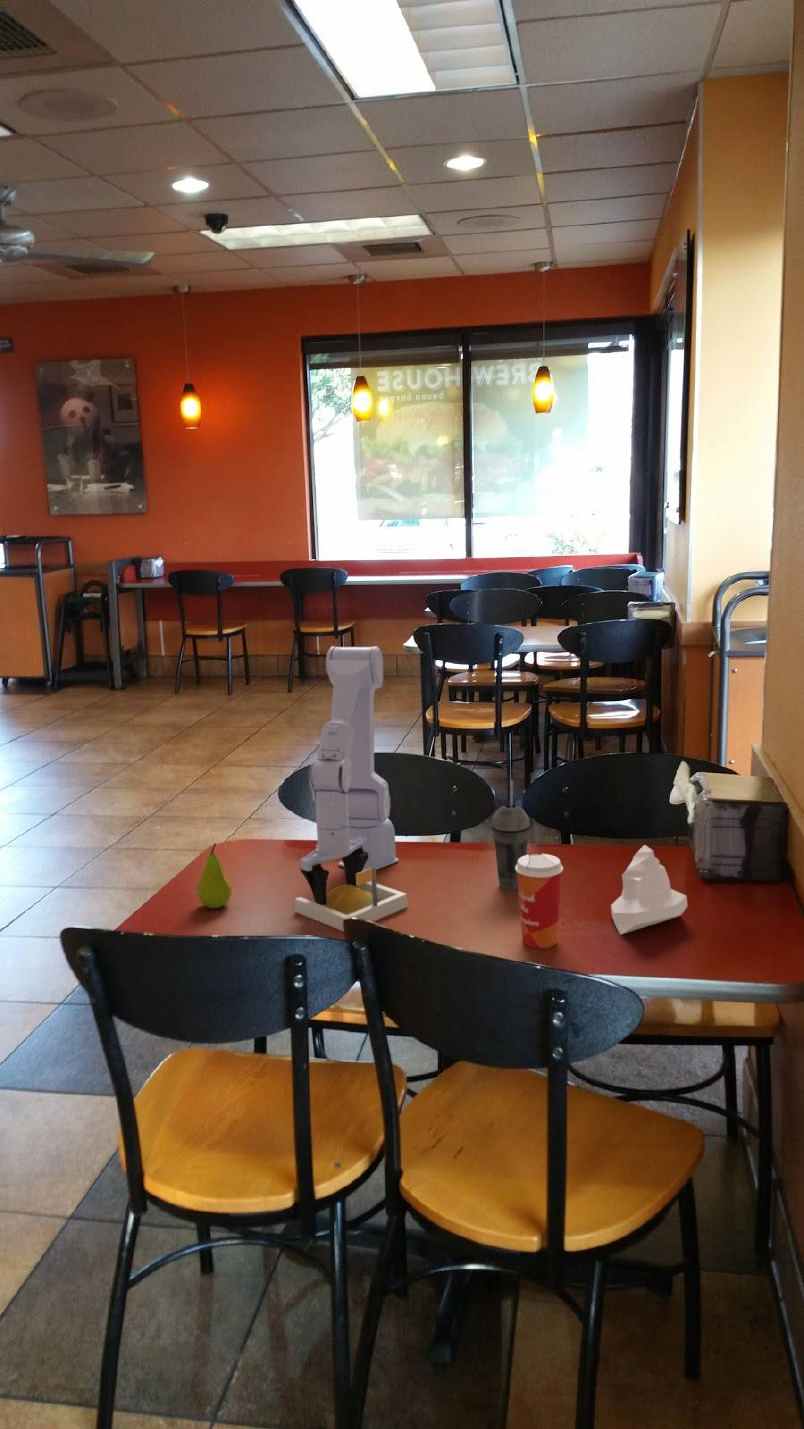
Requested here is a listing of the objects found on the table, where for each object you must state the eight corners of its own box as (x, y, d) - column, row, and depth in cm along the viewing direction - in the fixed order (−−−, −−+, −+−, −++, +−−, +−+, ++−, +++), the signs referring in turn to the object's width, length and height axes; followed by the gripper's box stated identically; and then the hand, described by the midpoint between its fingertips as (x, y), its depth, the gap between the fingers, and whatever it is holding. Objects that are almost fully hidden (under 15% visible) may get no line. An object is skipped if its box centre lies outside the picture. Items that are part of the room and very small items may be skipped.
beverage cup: (487, 890, 196) (484, 786, 192) (498, 876, 203) (496, 775, 199) (525, 894, 194) (523, 789, 189) (535, 880, 200) (534, 778, 196)
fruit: (190, 907, 194) (185, 845, 191) (217, 897, 198) (212, 835, 196) (213, 916, 190) (208, 852, 187) (240, 904, 194) (235, 842, 191)
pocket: (354, 888, 200) (352, 840, 198) (407, 906, 190) (405, 856, 188) (295, 911, 190) (292, 861, 188) (347, 932, 180) (344, 880, 178)
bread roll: (350, 922, 184) (349, 901, 183) (318, 909, 191) (316, 888, 190) (385, 908, 190) (384, 887, 189) (353, 895, 196) (352, 875, 195)
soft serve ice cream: (588, 932, 180) (579, 848, 181) (654, 919, 188) (646, 839, 189) (638, 940, 170) (629, 850, 170) (706, 925, 177) (697, 840, 178)
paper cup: (512, 933, 178) (511, 853, 175) (557, 930, 178) (557, 850, 175) (521, 953, 170) (520, 871, 167) (568, 950, 171) (568, 867, 168)
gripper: (346, 810, 197) (350, 879, 200) (287, 831, 187) (291, 903, 190) (373, 818, 192) (377, 888, 195) (314, 839, 182) (318, 913, 185)
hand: (336, 896), depth 192 cm, fingers open, 7 cm apart
